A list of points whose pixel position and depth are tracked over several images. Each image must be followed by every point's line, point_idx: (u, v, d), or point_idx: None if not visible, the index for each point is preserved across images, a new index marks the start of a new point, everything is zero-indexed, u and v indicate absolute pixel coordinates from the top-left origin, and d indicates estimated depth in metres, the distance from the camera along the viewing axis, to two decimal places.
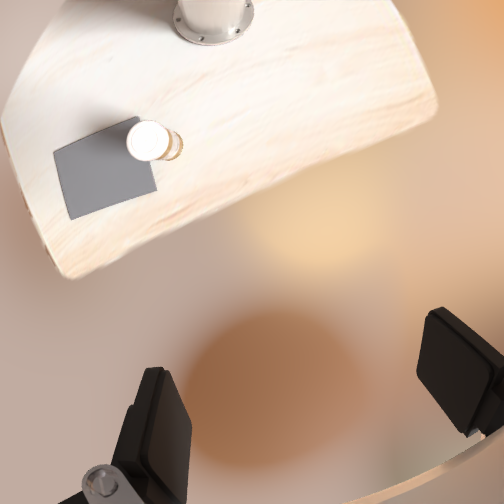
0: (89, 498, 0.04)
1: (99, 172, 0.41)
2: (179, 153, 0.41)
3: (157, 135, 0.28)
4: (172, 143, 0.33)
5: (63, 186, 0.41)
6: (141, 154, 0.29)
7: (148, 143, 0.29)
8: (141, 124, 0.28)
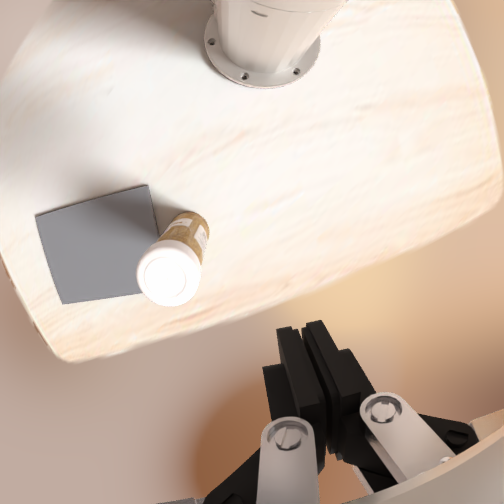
0: (281, 454, 0.05)
1: (95, 254, 0.32)
2: None
3: (186, 275, 0.20)
4: (202, 260, 0.25)
5: (50, 263, 0.31)
6: (161, 298, 0.20)
7: (171, 284, 0.20)
8: (159, 253, 0.19)
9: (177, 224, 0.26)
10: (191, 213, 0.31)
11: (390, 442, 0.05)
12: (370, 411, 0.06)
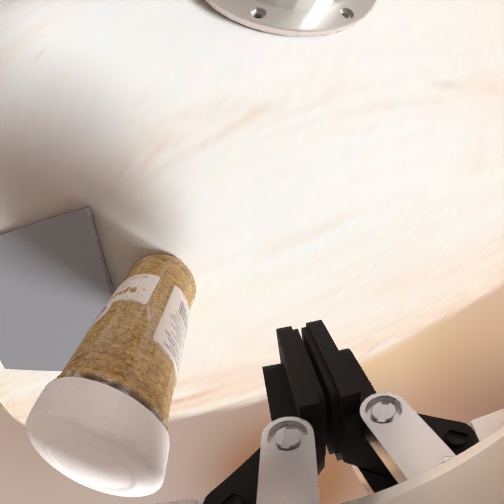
0: (281, 454, 0.05)
1: (28, 312, 0.18)
2: None
3: (129, 472, 0.06)
4: (175, 380, 0.11)
5: None
6: (92, 486, 0.06)
7: (104, 476, 0.06)
8: (56, 429, 0.05)
9: (125, 296, 0.12)
10: (162, 257, 0.17)
11: (390, 442, 0.05)
12: (370, 411, 0.06)
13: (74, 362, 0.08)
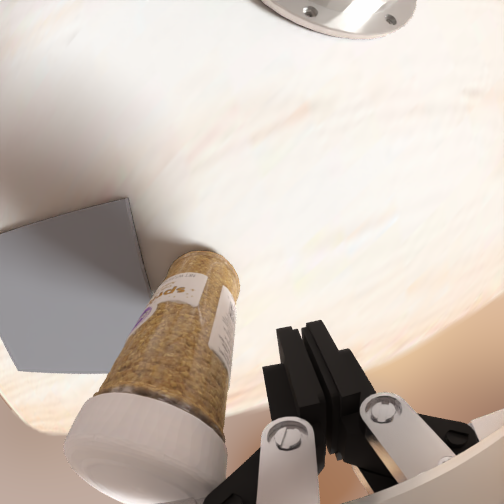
0: (280, 454, 0.05)
1: (50, 311, 0.17)
2: None
3: (188, 496, 0.05)
4: (227, 389, 0.10)
5: None
6: None
7: (153, 498, 0.06)
8: (106, 454, 0.05)
9: (173, 297, 0.12)
10: (207, 254, 0.17)
11: (390, 442, 0.05)
12: (370, 411, 0.06)
13: (121, 373, 0.07)
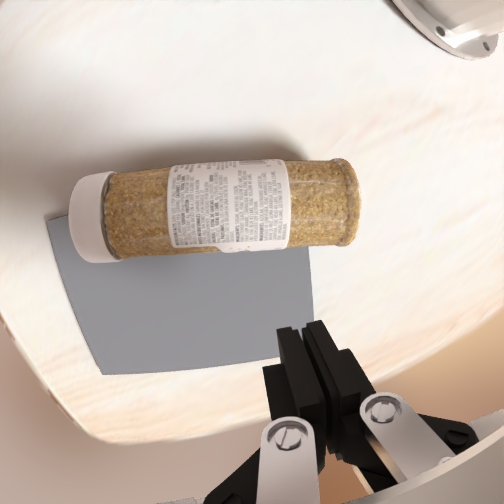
0: (280, 454, 0.05)
1: (176, 297, 0.18)
2: (340, 164, 0.13)
3: None
4: (172, 166, 0.13)
5: (77, 308, 0.17)
6: None
7: None
8: None
9: None
10: None
11: (390, 442, 0.05)
12: (370, 411, 0.06)
13: None
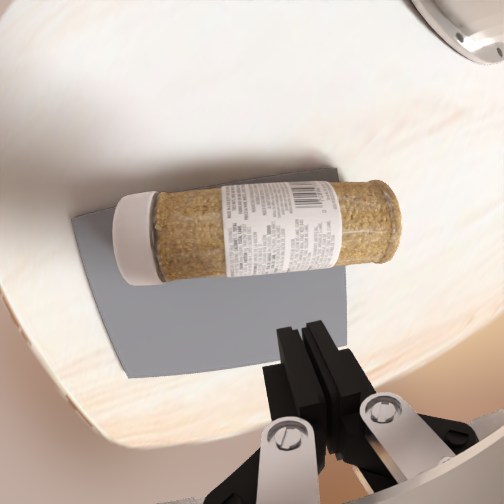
0: (280, 454, 0.05)
1: (212, 296, 0.18)
2: (390, 207, 0.13)
3: None
4: (220, 195, 0.13)
5: (103, 309, 0.17)
6: None
7: None
8: None
9: None
10: None
11: (390, 442, 0.05)
12: (370, 411, 0.06)
13: None
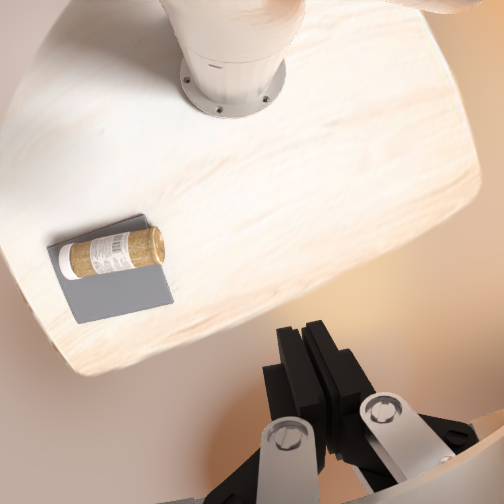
0: (280, 454, 0.05)
1: (104, 278, 0.36)
2: (149, 247, 0.31)
3: None
4: (89, 249, 0.31)
5: (64, 288, 0.36)
6: None
7: None
8: None
9: None
10: None
11: (390, 442, 0.05)
12: (370, 411, 0.06)
13: None
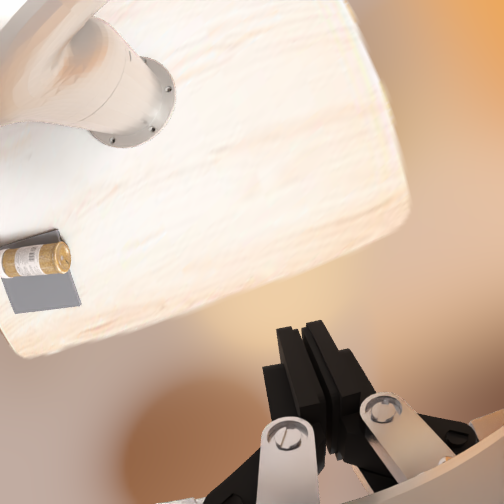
0: (280, 454, 0.05)
1: (30, 278, 0.38)
2: (52, 260, 0.33)
3: None
4: (14, 256, 0.33)
5: (4, 283, 0.37)
6: None
7: None
8: None
9: None
10: None
11: (390, 442, 0.05)
12: (370, 411, 0.06)
13: None
